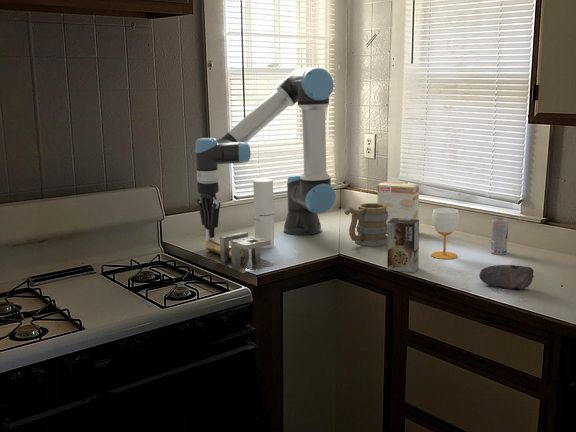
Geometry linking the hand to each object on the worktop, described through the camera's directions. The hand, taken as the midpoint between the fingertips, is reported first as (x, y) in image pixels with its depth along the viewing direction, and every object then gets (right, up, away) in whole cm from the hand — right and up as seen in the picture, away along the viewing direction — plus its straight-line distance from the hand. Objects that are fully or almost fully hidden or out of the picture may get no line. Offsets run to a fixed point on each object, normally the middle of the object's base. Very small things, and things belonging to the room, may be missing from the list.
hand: (210, 245), depth 233 cm
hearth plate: (+9, -4, -11) cm, 15 cm away
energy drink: (+102, -2, -9) cm, 102 cm away
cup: (+82, -3, -12) cm, 83 cm away
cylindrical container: (+20, -1, +4) cm, 20 cm away
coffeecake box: (+72, +4, +22) cm, 76 cm away
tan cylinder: (+7, -3, -8) cm, 11 cm away
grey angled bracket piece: (+10, -4, -12) cm, 16 cm away
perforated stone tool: (+92, -10, -45) cm, 103 cm away
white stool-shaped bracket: (+16, -6, -20) cm, 26 cm away
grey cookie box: (+66, -7, -25) cm, 71 cm away
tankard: (+57, 0, +6) cm, 57 cm away
